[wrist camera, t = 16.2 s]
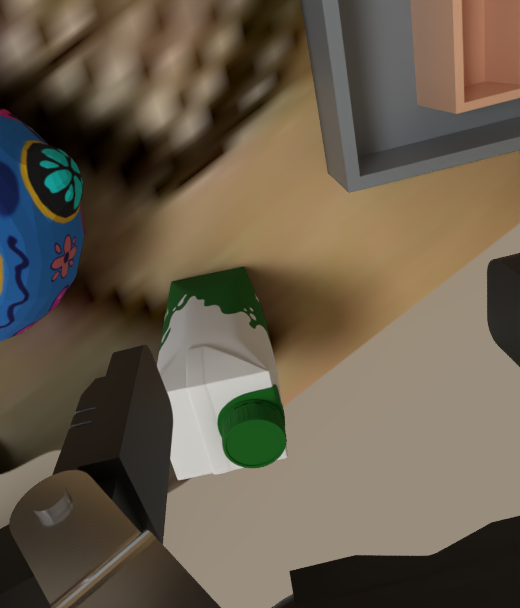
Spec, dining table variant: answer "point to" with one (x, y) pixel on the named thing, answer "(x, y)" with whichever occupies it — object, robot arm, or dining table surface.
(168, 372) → the milk carton
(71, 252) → the ceramic pot
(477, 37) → the small crate
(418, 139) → the big crate
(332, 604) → the robot arm
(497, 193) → the dining table surface
